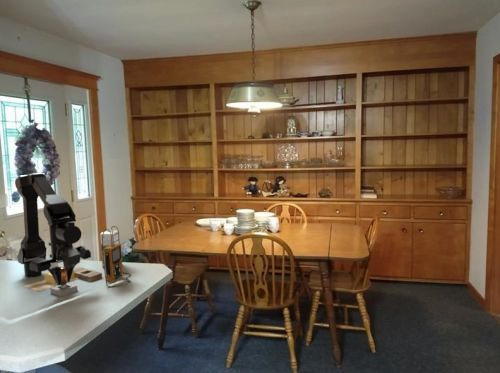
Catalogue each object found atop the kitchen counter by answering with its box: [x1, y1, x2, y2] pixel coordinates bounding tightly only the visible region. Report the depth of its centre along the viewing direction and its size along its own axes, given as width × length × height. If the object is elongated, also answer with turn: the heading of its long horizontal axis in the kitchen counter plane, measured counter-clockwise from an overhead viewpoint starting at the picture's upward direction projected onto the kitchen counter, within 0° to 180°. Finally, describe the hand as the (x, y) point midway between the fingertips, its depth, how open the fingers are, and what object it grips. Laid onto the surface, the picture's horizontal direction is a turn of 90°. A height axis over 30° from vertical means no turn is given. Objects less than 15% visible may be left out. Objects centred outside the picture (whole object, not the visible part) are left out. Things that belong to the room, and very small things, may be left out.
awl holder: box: [49, 282, 79, 297], centre depth 132 cm, size 6×6×2 cm
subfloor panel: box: [24, 277, 79, 292], centre depth 142 cm, size 10×15×1 cm, turn 146°
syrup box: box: [99, 230, 120, 268], centre depth 161 cm, size 6×6×14 cm
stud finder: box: [44, 270, 75, 284], centre depth 144 cm, size 6×8×4 cm
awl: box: [59, 266, 68, 289], centre depth 132 cm, size 3×3×9 cm
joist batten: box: [73, 266, 103, 282], centre depth 147 cm, size 15×5×2 cm, turn 56°
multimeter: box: [102, 225, 132, 288], centre depth 143 cm, size 15×10×20 cm
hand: (63, 283), depth 132 cm, fingers closed on awl, 3 cm apart
